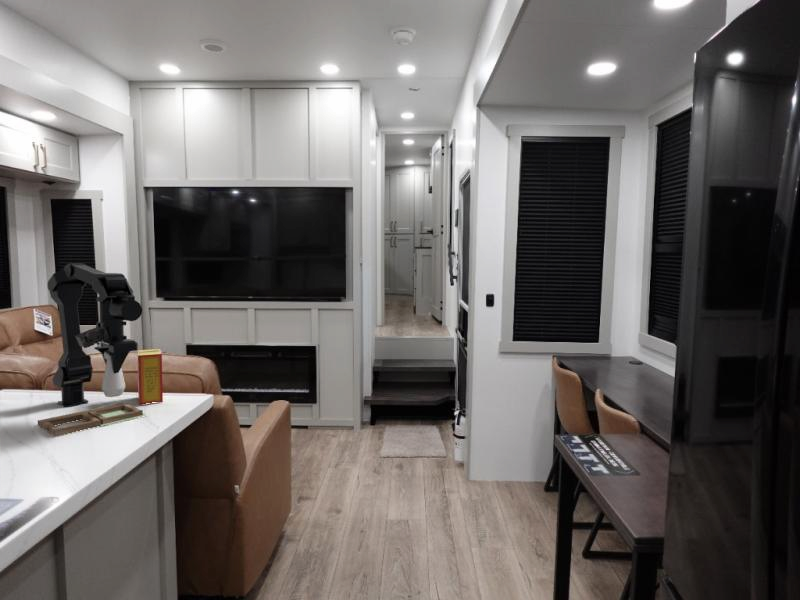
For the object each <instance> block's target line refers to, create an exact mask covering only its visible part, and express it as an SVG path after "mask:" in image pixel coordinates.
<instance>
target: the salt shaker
mask: <svg viewBox="0 0 800 600" xmlns="http://www.w3.org/2000/svg"><path fill="white" fill-rule="evenodd" d="M107 351H109V350H107ZM104 358H105V359H107V362H106V364H105V368H104V373H103V377H102V378H103V379H102V384H101V390H102V392H103V394H104V396H105V397H107V398H113V397H115V398H116V397H120V396H122V395H123V393H124V391H125V389H126V383H125V378H124V374H123V373H124V372H123V369H122V367H121V369H120V371H119V373H115V374H114V372H113V369H112V364H111V358H110V356H109V355H108V354H107V353H105V352H104ZM104 358H103V359H104Z"/></svg>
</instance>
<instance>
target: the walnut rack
mask: <svg viewBox="0 0 800 600" xmlns="http://www.w3.org/2000/svg"><path fill="white" fill-rule="evenodd" d="M120 410H126V411H129V413H125V414H120V415H116V416H111V417H107V418H106V417H104V416H102V414H106V413H111V412H115V411H120ZM143 413H144V412H143V410H142V409H140V408H138V407H135V406H133V405H131V404H128V403H123V402H121V403H116V404H110V405H106V406H100V407H97V408H91V409H86V410H81V411H78V412H71V413H68V414H63V415H59V416H54V417H48V418H44V419H43V418H42V419H38V420H37V426H39V427H40V428H42V429H43V428H44V429H43V430H45V431H46V430H47V431H46V432H48V433H49V432H50V433H49V434H51V435H52V434H53V435H52V436H54V437H55V438H57V437H61V436H64V434H65V435H69V434H68V433H70V434H73V433H72V432H74V433H76V431H78V432H81V431H80V430H82V431H85V430H84V429H86V430H89V429H88V428H91V429H94V428H93V427H95V428H98V427H97V426H99V427H100V425H101V424H107V423H111V422H116V421H120V420H124V419H128V418H133V417H137V416H141V415H143ZM80 419H83V420H82V421H84V420H85V421H84V422H82V423H78V424H71V425H67V426H64V427H63V426H62V427H60V428H59V427H57V426H59V425H58V424H61V425H64V424H63V423H66V424H68V423H67V422H70V423H73V422H72V421H75V422H77V421H76V420H79V421H81V420H80ZM86 421H87V422H86ZM55 425H57V426H55ZM60 435H61V436H60ZM56 436H57V437H56Z"/></svg>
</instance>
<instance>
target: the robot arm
mask: <svg viewBox="0 0 800 600" xmlns="http://www.w3.org/2000/svg"><path fill="white" fill-rule="evenodd" d="M87 284H88V285H91V286H92V287H91V288H92V290H93V291H94V292H96V293H97V294H98V296H97V297H96V299H95V301H96V302H99V303H98V304H99V306H98V307H99V321H97V322H96V323H95V327H94V328H91V329H88V330H85V331H83V332H81V326H80V317H79V307H78V303H79V301H80V300H81V298H82V296H83V289H84V287H86V285H87ZM47 289H48V291H49V295H50V298H51V299H52V300H53V301H54V303H55V304H56V305H57V307H58V314H59V323H60V324H59V325H60V331H61V332H60V333H61V340H62V349H63V350H62V351H63V353H62V354H61V356H60V359H59V360H58V363H57V370H56V371H55V373H54V375H53V377H52V383H53V386H55V387H58V388H61V391H60V392H61V400H58V401H57V404H58V405H61V406H62V407H65V408H66V407H67V408H68V407H72V406H78V405H81V404H87V403H89V400H88V399H85V392H84V391H85V390H84V385H85V383H91V381H92V376H93V370H94V367H93V365H92V358H91V356H90V355H89V354H87V353H86V352H85V351H84V350H83V349H87V348H90V347H92V346H95V345H96V346H95V347H93V348H94V350H96V351H98V352H99V353H100V354H101V356H102V358H103V361H104V364H105V365H106V362H107V359H105V358H104V352H105V353H107V354H108V355H109V356H110V358H111V364H112V369H113V372H114V374H115V373H119V371H120V369H121V368H122V367H123V364H124V363H125V360H126V359H127V357H128V356H129V354H130V352H133V351H134V352H135V351H137V350H139V349H138V348H139V345H138V342H137V341H135V339H131V338H127V337H128V336H127V335H125V330H124V326H127V321H128V322H134V321H135V322H136V321H137V320H138V319H140V317H141V316H142V314H143V307H142V305H141V303H140V302H139V301H137V300H136V298H135V295H134V290H133V289H132V287H131V286H130V284H129V281H128V279H127V278H126V276H125V275H124V274H123V273H121V272H120V273H118V272H104V271H101V270H99V269H96V268H93V267H91V266H88V265H87V264H85V263H68V264H66V265H65V266H64V267H63V268H62V269H60V270H58V271H56V272H54V273H53V274H52V275H51V277H50V278H49V279H48V282H47ZM107 350H109V351H107Z"/></svg>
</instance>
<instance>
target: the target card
mask: <svg viewBox="0 0 800 600" xmlns="http://www.w3.org/2000/svg"><path fill="white" fill-rule="evenodd" d="M125 413H129V411H126V410H120V411H115V412H111V413H106V414H102V416H104V417H106V418H107V417H111V416H116V415H120V414H125ZM145 415H147V414H145V413H144V412H143V415H141V416H137V417H133V418H128V419H124V420H120V421H116V422H111V423H107V424H101V425H100V426H103V427H105V426H104V425H107V426H110V425H109V424H111V425H114V424H113V423H116V424H119V423H118V422H120V423H123V422H122V421H124V422H127V421H126V420H128V421H131V419H132V420H135V419H134V418H137V419H139V418H138V417H141V418H143V417H142V416H145ZM145 417H146V416H145ZM100 426H99V427H100Z"/></svg>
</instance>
